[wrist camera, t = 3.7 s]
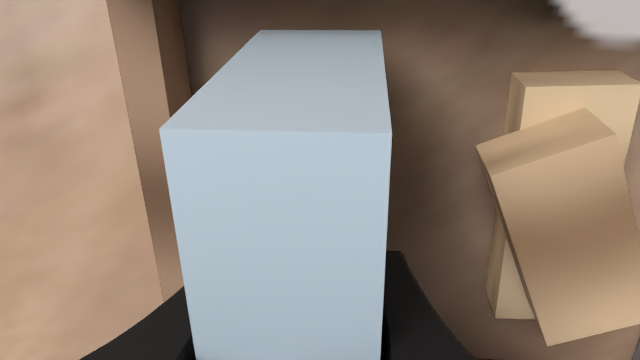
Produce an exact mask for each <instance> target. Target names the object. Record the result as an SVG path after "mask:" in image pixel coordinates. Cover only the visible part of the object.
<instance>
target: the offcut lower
mask: <svg viewBox="0 0 640 360" xmlns="http://www.w3.org/2000/svg"><path fill="white" fill-rule="evenodd" d="M639 101H640V82H638V81H637V80H635V79H633V78H632V77H630V76H628V75H626V74H625V73H623V72H621V71H620V70H598V71H556V72H515V73H512V74H511V82H510V90H509V99H508V107H507V116H506V124H505V132H504V135H507V134H509V133H512V132H515V131H518V130H521V129H524V128H527V127H530V126H532V125H535V124H538V123H541V122H544V121H547V120H549V119H552V118H555V117H558V116H561V115H564V114H566V113H569V112H572V111H575V110H578V109H581V108H584V107H585V108H586V109H587V110H589V111H590V112H591V113H592V114H593V115H594V116H596V117H597V118H598V119H599V120H600V121H602V122H603V123H604V124H605V125H606V126H608V127H609V128H610V129H611V130H612V131H613V132H615V133H616V134H617V139H618V144H619V148H620V153H621V158H622V162H623V167H624V164H625V160H626V156H627V152H628V147H629V143H630V139H631V135H632V130H633V126H634V122H635V118H636V113H637V109H638V105H639ZM486 292H487V295H488V298H489V301H490V304H491V308H492V311H493V314H494V317H495V319H535V317H534V315H533V312H532V310H531V308H530V305H529V303H528V300H527V297H526V294H525V291H524V288H523V285H522V282H521V279H520V276H519V273H518V270H517V267H516V265H515V262H514V259H513V256H512V253H511V250H510V247H509V244H508V241H507V238H506V235H505V232H504V229H503V226H502V223H501V220H500V217H499V214H498V211H497V208H495V216H494V225H493V233H492V241H491V250H490V258H489V266H488V275H487V283H486Z"/></svg>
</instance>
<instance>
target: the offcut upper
mask: <svg viewBox="0 0 640 360" xmlns="http://www.w3.org/2000/svg"><path fill="white" fill-rule="evenodd" d="M475 146H476V149H477V152H478V155H479V158H480V161H481V164H482V167H483V169H484V172H485V175H486V178H487V181H488V184H489V187H490V190H491V193H492V196H493V199H494V202H495V205H496V208H497V211H498V214H499V217H500V220H501V223H502V226H503V229H504V232H505V235H506V238H507V241H508V244H509V247H510V250H511V253H512V256H513V259H514V262H515V265H516V267H517V270H518V273H519V276H520V279H521V282H522V285H523V288H524V291H525V294H526V297H527V300H528V303H529V305H530V308H531V310H532V312H533V315H534V317H535V319H536V322H537V324H538V326H539V329H540V331H541V333H542V336H543V338H544V340H545V343H546V345H547V347H548V346H552V345H556V344H560V343H564V342H568V341H572V340H576V339H580V338H584V337H589V336H593V335H597V334H601V333H605V332H609V331H613V330H617V329H621V328H625V327H629V326H633V325H637V324H640V241H639V237H638V232H637V227H636V223H635V218H634V213H633V209H632V204H631V199H630V195H629V190H628V186H627V181H626V176H625V172H624V167H623V162H622V158H621V153H620V148H619V144H618V139H617V134H616V133H615V132H613V131H612V130H611V129H610V128H609V127H608V126H606V125H605V124H604V123H603V122H602V121H600V120H599V119H598V118H597V117H596V116H594V115H593V114H592V113H591V112H590V111H589V110H587V109H586V108H585V107H584V108H581V109H578V110H575V111H572V112H569V113H566V114H564V115H561V116H558V117H555V118H552V119H549V120H547V121H544V122H541V123H538V124H535V125H532V126H530V127H527V128H524V129H521V130H518V131H515V132H512V133H509V134H507V135H504V136H501V137H498V138H495V139H492V140H489V141H487V142H484V143H481V144H478V145H475Z"/></svg>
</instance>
